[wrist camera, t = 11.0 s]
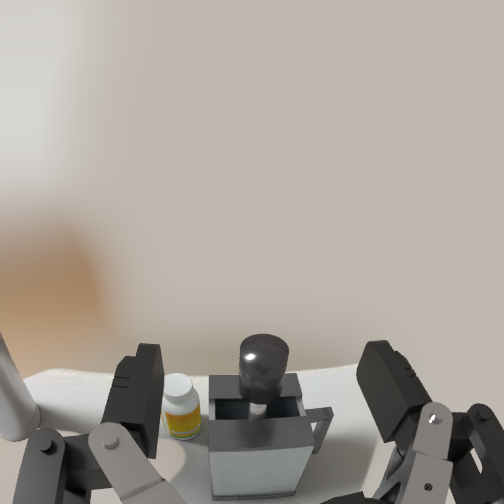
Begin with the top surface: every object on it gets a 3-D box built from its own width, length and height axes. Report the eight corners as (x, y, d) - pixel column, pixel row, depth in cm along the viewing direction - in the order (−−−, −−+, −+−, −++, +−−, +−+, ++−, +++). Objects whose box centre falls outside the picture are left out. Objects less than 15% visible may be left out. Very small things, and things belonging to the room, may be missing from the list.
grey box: (212, 499, 29) (206, 450, 23) (211, 438, 38) (207, 373, 32) (318, 491, 30) (349, 439, 25) (304, 433, 39) (323, 369, 34)
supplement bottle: (157, 424, 39) (146, 381, 35) (185, 407, 43) (179, 363, 39) (180, 447, 36) (172, 407, 32) (209, 428, 40) (206, 385, 36)
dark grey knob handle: (224, 478, 29) (222, 379, 22) (222, 433, 35) (221, 323, 28) (285, 475, 29) (315, 376, 22) (276, 430, 36) (297, 322, 29)
